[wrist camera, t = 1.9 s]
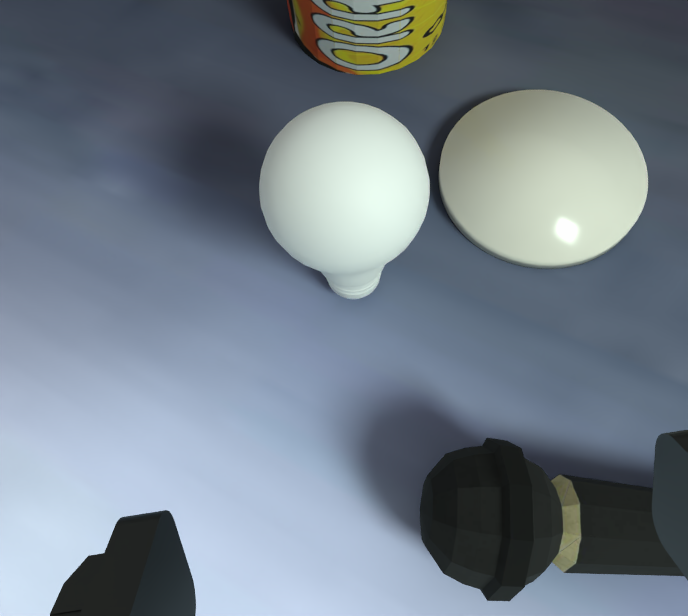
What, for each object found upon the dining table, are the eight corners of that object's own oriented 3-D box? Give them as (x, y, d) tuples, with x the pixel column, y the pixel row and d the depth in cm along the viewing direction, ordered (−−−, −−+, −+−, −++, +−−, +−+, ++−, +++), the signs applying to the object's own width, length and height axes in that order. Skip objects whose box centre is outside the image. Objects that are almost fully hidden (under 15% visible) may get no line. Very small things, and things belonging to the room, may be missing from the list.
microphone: (853, 514, 28) (406, 473, 27) (964, 456, 23) (432, 405, 23) (918, 652, 24) (408, 608, 23) (1064, 615, 20) (439, 560, 19)
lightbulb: (441, 260, 30) (469, 105, 20) (377, 365, 28) (373, 254, 18) (333, 206, 31) (308, 37, 21) (266, 303, 30) (204, 169, 19)
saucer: (606, 86, 33) (611, 76, 32) (670, 251, 29) (678, 243, 29) (421, 116, 33) (422, 106, 32) (461, 284, 29) (463, 276, 29)
